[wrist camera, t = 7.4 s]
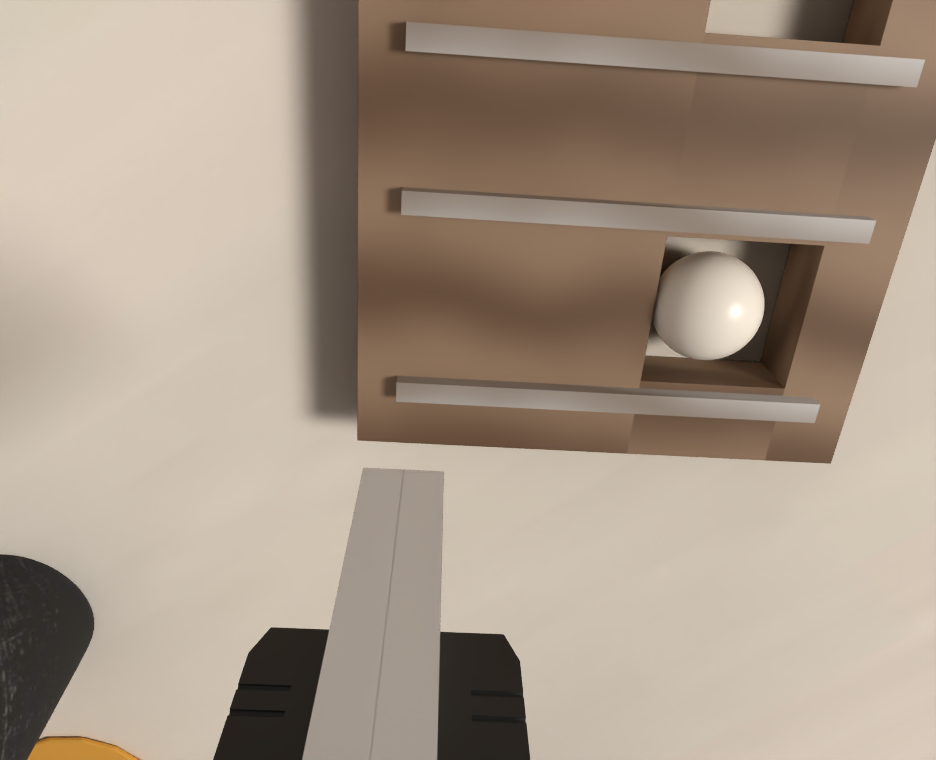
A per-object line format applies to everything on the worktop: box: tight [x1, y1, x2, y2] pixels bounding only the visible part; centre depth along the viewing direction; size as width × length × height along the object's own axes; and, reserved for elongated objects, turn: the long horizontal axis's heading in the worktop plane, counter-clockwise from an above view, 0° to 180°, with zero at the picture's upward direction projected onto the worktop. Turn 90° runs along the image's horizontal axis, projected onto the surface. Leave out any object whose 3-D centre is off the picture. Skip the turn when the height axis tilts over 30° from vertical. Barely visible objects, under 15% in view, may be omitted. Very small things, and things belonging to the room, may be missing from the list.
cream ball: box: [652, 251, 764, 360], centre depth 27 cm, size 4×4×4 cm
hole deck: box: [357, 0, 936, 463], centre depth 25 cm, size 24×19×3 cm
